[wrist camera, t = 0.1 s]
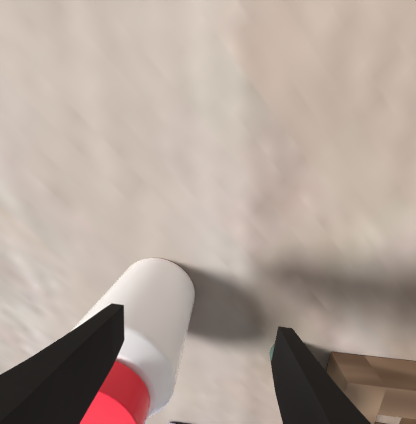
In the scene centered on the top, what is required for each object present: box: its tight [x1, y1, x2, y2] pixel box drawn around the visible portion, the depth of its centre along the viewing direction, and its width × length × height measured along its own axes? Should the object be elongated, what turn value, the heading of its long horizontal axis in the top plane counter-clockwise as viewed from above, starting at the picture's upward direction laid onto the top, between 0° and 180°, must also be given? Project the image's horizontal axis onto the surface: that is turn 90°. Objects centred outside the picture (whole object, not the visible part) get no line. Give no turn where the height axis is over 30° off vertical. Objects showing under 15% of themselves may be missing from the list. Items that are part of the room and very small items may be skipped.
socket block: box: [326, 352, 416, 424], centre depth 20 cm, size 12×12×3 cm
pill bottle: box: [70, 258, 195, 424], centre depth 16 cm, size 8×8×11 cm
